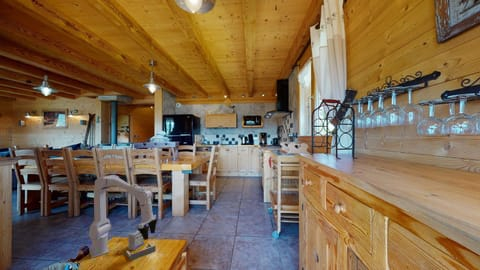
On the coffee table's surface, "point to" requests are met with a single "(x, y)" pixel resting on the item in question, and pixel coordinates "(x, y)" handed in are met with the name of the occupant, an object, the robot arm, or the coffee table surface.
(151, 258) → the coffee table surface
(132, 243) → the medicine box
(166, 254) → the coffee table surface
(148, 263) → the coffee table surface
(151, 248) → the tray
